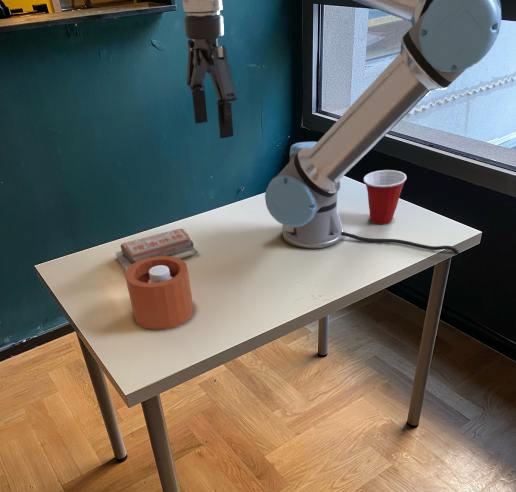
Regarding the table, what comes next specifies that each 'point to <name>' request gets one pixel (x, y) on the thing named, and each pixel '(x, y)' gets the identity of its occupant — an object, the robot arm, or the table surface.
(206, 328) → the table surface
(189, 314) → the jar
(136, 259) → the packaged product
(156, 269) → the supplement bottle
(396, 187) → the plastic cup
